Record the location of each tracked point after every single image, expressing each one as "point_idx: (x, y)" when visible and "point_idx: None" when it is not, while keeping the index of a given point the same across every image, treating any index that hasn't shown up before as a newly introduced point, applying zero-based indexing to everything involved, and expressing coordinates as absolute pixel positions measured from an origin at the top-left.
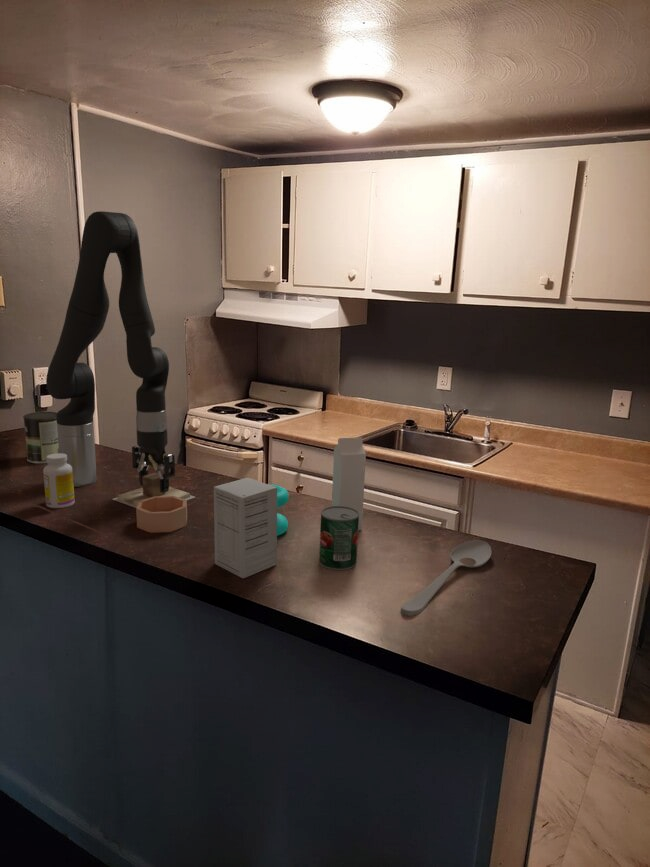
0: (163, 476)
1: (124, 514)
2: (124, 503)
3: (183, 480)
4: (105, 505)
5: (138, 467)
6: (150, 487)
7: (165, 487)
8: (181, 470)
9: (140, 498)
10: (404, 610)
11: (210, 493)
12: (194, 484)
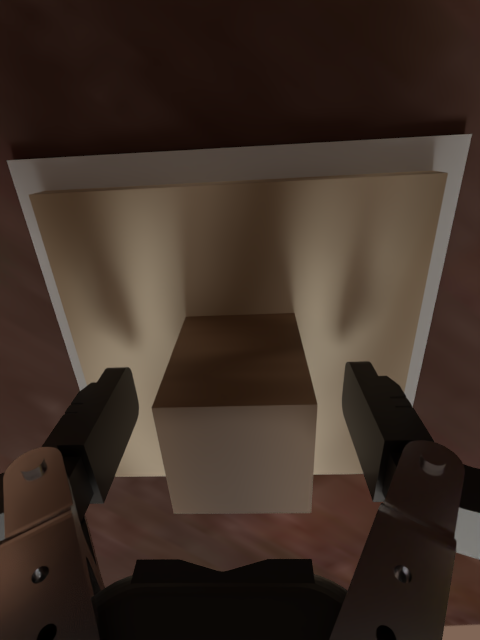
0: (6, 480)
1: (131, 4)
2: (309, 145)
3: (352, 553)
4: (430, 13)
5: (450, 488)
6: (201, 355)
7: (74, 407)
8: (456, 605)
9: (240, 254)
10: None
11: (127, 527)
12: (272, 550)
